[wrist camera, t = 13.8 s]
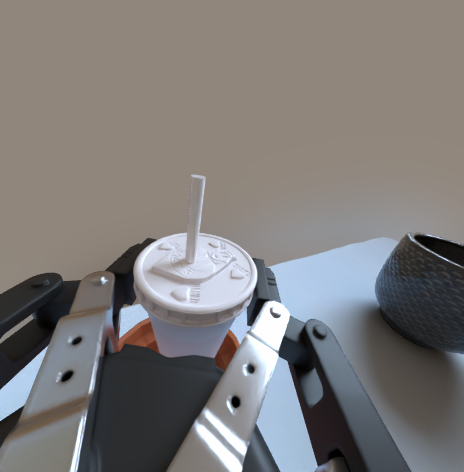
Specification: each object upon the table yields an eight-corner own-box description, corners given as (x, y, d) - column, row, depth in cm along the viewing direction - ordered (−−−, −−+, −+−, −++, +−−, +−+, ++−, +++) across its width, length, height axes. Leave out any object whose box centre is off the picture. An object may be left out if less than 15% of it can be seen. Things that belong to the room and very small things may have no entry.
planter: (387, 286, 43) (435, 231, 36) (490, 361, 30) (604, 298, 22) (339, 295, 37) (384, 230, 29) (441, 394, 23) (576, 322, 16)
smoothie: (140, 334, 14) (120, 154, 8) (210, 311, 18) (238, 169, 11) (148, 437, 10) (118, 206, 3) (242, 380, 13) (323, 206, 6)
